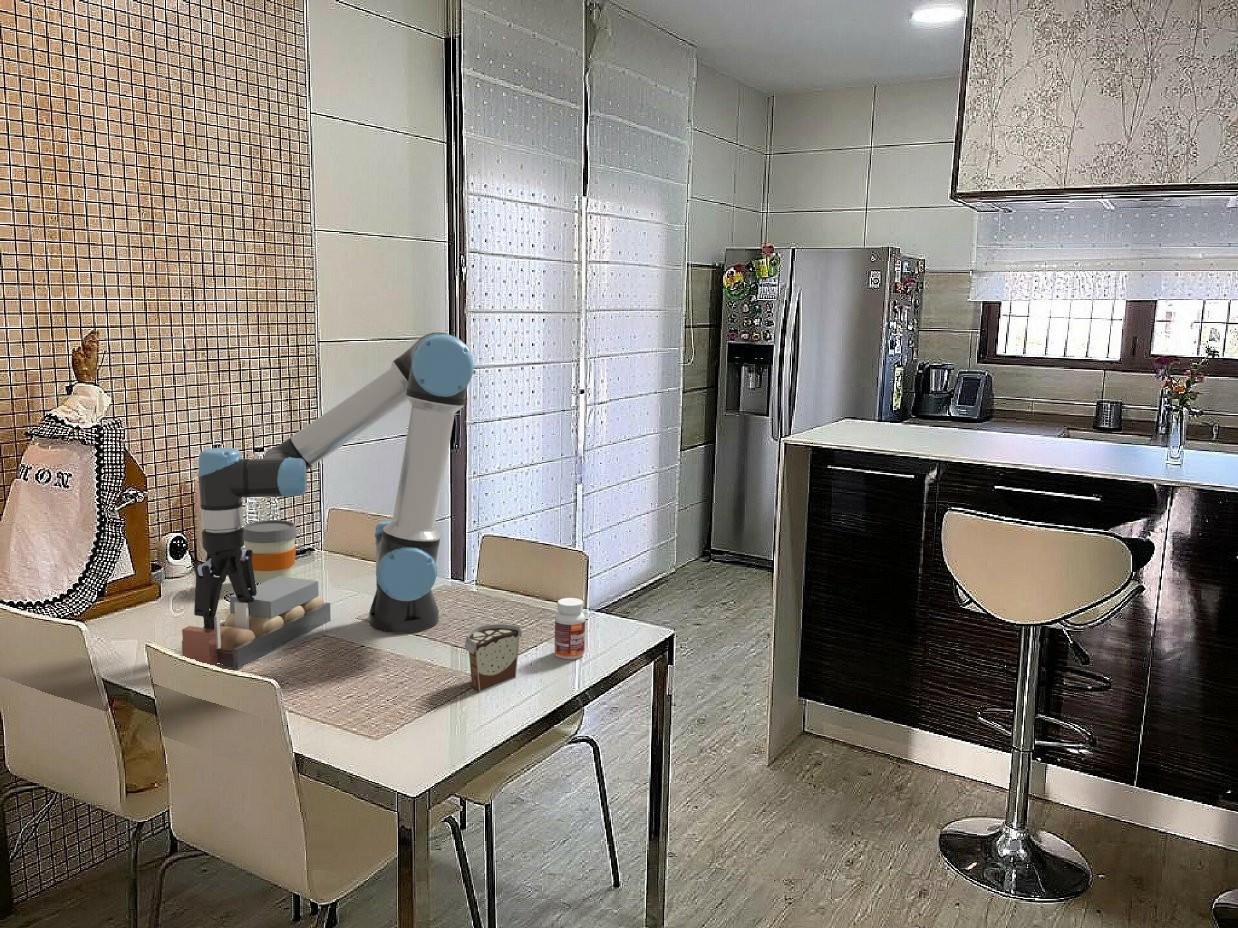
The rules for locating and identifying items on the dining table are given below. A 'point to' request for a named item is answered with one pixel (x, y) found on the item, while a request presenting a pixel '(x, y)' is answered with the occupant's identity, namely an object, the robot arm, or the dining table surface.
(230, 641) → the roller
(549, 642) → the dining table surface
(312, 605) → the roller
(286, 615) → the roller
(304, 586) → the slab
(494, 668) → the food container
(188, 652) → the roller bed
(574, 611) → the pill bottle
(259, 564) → the reusable coffee cup
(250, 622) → the roller
